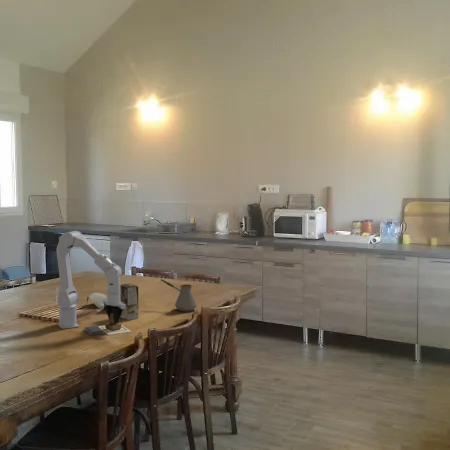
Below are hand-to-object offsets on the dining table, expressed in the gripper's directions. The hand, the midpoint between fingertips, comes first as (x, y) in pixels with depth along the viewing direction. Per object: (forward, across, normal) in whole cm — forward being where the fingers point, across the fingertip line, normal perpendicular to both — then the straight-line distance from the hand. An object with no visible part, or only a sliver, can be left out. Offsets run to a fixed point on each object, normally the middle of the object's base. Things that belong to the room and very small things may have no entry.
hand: (114, 321), depth 251 cm
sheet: (+3, 0, 0) cm, 3 cm away
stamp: (+3, 0, 0) cm, 3 cm away
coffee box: (+4, -12, +18) cm, 22 cm away
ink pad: (+3, -3, -9) cm, 10 cm away
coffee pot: (+4, -8, +47) cm, 48 cm away
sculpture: (+4, -36, +25) cm, 44 cm away
